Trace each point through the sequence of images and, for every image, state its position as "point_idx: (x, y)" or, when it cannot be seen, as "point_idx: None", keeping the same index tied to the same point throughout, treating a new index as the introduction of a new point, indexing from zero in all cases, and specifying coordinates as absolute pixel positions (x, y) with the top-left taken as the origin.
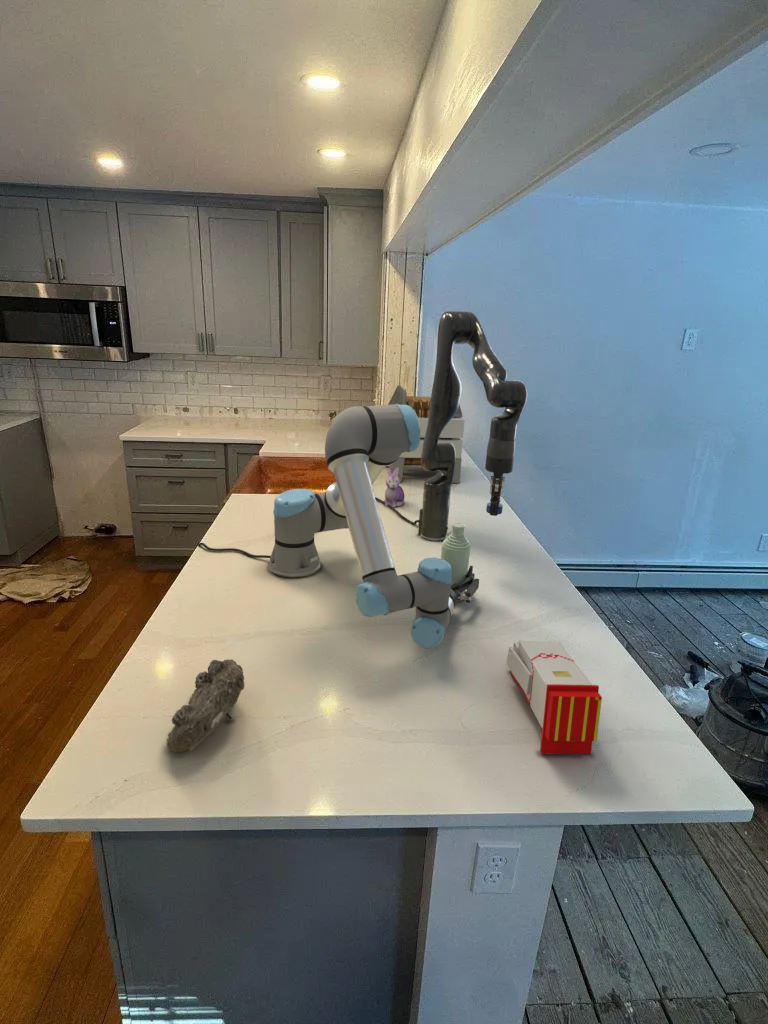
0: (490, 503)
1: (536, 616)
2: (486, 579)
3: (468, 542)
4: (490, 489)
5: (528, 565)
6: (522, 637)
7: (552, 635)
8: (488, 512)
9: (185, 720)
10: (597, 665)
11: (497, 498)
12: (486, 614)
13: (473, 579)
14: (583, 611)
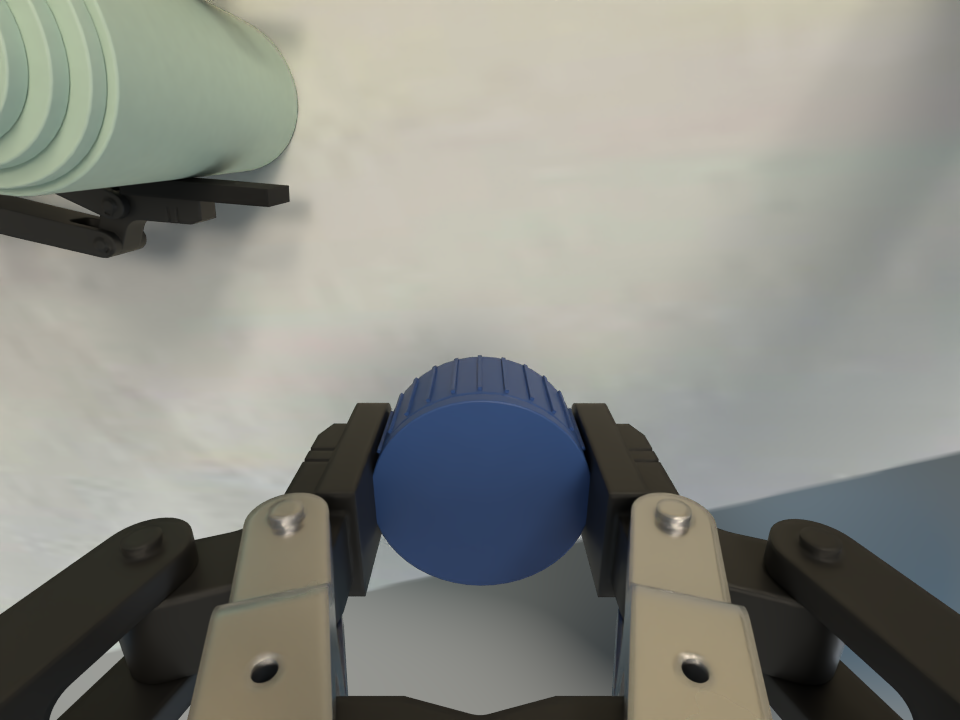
0: (514, 444)
1: (217, 459)
2: (470, 264)
3: (25, 171)
4: (199, 696)
5: (674, 442)
6: (38, 413)
7: (111, 501)
8: (414, 385)
9: None
10: (15, 597)
11: (600, 570)
12: (132, 281)
13: (120, 222)
14: None
